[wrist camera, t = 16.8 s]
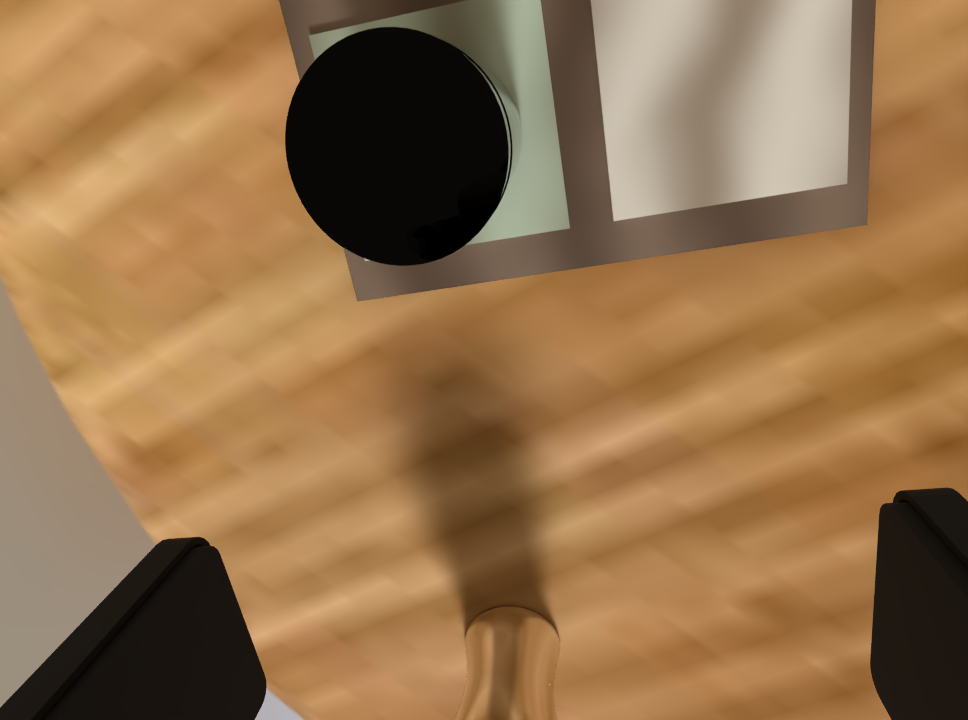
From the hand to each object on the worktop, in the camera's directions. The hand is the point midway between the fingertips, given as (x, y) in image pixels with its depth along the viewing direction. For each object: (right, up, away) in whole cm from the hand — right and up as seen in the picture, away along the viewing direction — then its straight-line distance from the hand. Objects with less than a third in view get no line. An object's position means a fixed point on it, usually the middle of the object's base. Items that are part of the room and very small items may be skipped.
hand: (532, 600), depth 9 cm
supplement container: (-2, +13, +19) cm, 24 cm away
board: (+3, +15, +19) cm, 25 cm away
